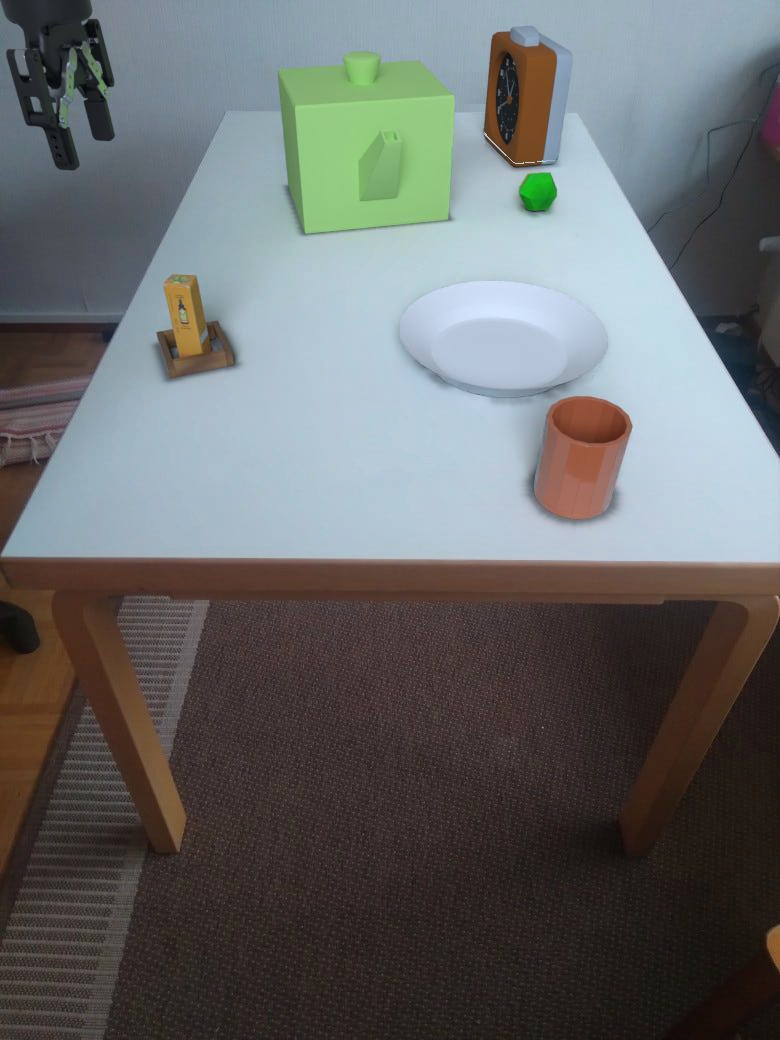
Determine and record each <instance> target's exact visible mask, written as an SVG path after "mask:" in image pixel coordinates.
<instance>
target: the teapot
mask: <svg viewBox="0 0 780 1040" xmlns="http://www.w3.org/2000/svg"><path fill="white" fill-rule="evenodd" d="M381 60H382V58H381V55H380V54H378V53H376V52H373V51H367V50H366V51H365V50H360V51H359V50H358V51H350V52H348V53H346V54H344V55H343V56H342V61H343V64H336V65H335V64H334V65H320V66H319V65H318V66H303V67H287V68H277V82H278V92H279V104H280V113H281V124H282V134H283V144H284V145H283V146H284V155H285V165H286V177H287V186H288V190H289V192H290V195H291V198H292V201H293V203H294V207H295V209H296V212H297V215H298V217H299V220H300V223H301V226H302V229H303V232H304V234H306V235H307V234H317V233H327V232H337V231H338V232H339V231H349V230H358V229H360V230H361V229H369V228H380V227H389V226H398V225H400V226H401V225H409V224H420V223H430V222H440V221H448V220H449V215H450V213H449V212H450V198H451V197H450V196H451V181H452V180H451V179H452V160H453V143H454V128H455V127H454V126H455V110H456V97H455V96H456V95H455V94H453V92H451V91H450V90H449V89H448V88H447V87H446V86H445V85H444V84H443V82H442V81H440V80H439V78H437V77H436V76H435V74H434V73H433V72H431V71H430V70H429V68H427V66H425V65H424V64H423V63H422V62H421V61H420V60H403V61H402V60H401V61H386V62H385V61H384V62H383V61H382V62H381Z"/></svg>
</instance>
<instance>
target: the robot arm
mask: <svg viewBox="0 0 780 1040" xmlns="http://www.w3.org/2000/svg"><path fill="white" fill-rule="evenodd" d="M0 5H1V7H2V12H3V14H4V17H5V18H6V19H7V21H9V22H10V23H12V24H14V25H17V26H18V27H20V28H21V30H22V32H23V37H24V48H8V49H6V53H5V56H6V61H7V64H8V67H9V71H10V74H11V78H12V82H13V85H14V88H15V92H16V95H17V99H18V102H19V107H20V110H21V114H22V116H23V120H24V123H25V124H26V126H28V127H37V128H41V129H42V130H43V132H44V134H45V137H46V140H47V144H48V147H49V151H50V154H51V157H52V160H53V161H52V162H53V163H54V166H55V168H57V169H58V170H61V171H76V170H77V169H78V168H79V167H80V165H81V164H80V161H79V155H78V152H77V150H76V146H75V145H76V144H75V142H74V138H73V135H72V131H71V128H70V126H68V125H69V124H68V123H69V121H68V120H69V105H71V104H72V103H73V101H74V95H75V94H74V93H75V91H74V90H75V89H76V90H77V91H78V92H79V93H80V95H81V97H82V98H84V99H85V100H83V106H84V109H85V113H86V117H87V120H88V124H89V130H90V133H91V136H92V138H93V139H94V140H95V141H98V142H111V141H113V140H114V139H115V138H116V133H115V129H114V125H113V121H112V117H111V113H110V109H109V104H108V99H109V97H110V91H109V88H114V87H115V77H114V73H113V70H112V65H111V61H110V57H109V54H108V50H107V46H106V42H105V39H104V34H103V30H102V26H101V23H100V20H99V19H98V18H91V16H92V14H93V6H92V5H93V4H92V2H91V0H0ZM97 62H98V63H99V64H100V66H99V65H98V63H97ZM32 98H35V109H34V105H33V101H32ZM54 104H55V108H54Z"/></svg>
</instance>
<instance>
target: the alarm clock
mask: <svg viewBox="0 0 780 1040" xmlns="http://www.w3.org/2000/svg"><path fill="white" fill-rule="evenodd" d="M490 40H491V41H490V50H489V63H488V75H487V87H486V100H485V108H484V109H485V110H484V120H483V121H484V122H483V133H484V132H485V133H486V134H487V136H488V137H489V138H490V139H491V140H492V141H493V142H494V143H495V144H496V145H497V146H498V147H499V148H500V149H501V150H502V151H503V152H504V153H505V154H506V155H507V156H508V157H509V158H510V159H511V160H512V161H513V162H515V163H523V162H524V164H515V163H513V162H512V161H511V160H510V159H509V158H508V157H507V156H505V155H504V154H503V153H502V152H501V151H500V150H499V149H498V148H497V147H496V146H495V145H494V144H493V143H492V142H491V141H490V140H489V139H488V138H487V137H486V136H485V135H484V134H483V136H484V139H485V140H486V142H488V144H490V146H492V147H493V148H494V149H495V150H496V151H497V152H498V153H499V154H500V155H501V156H502V157H503V158H504V160H506V161H507V162H508V163H509V164H510V165H511V166H512V167H514V168H521V167H530V166H532V167H533V166H542V165H553V164H555V163H557V162H558V158H559V154H560V147H561V141H562V134H563V128H564V121H565V115H566V110H567V109H566V108H567V101H568V95H569V89H570V82H571V76H572V69H573V63H574V55H573V53H572V51H571V50H570V49H568V48H566V47H565V46H563V45H562V44H560V43H557V42H556V41H554V40H553V39H551V38H550V37H548V36H546V35H544V34H543V33H542V32H539V30H538V29H537V27H535V26H533V25H522V26H512V27H511V28H510V30H507V31H496V32H495V33H493V34H492V36H491V39H490ZM556 159H557V160H556ZM542 160H543V161H546V160H555V161H546V162H537V161H542ZM525 162H535V163H525Z"/></svg>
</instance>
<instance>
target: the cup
mask: <svg viewBox="0 0 780 1040" xmlns="http://www.w3.org/2000/svg"><path fill="white" fill-rule="evenodd" d="M632 429H633V423H632V421H631V418H630V415H629V414H628V413H627V412H625V410H624V409H623V408H621V407H620V406H619V405H617V404H615V403H614V402H611V401H609V400H607V399H603V398H599V397H595V396H590V395H584V396H583V395H574V396H569V397H565V398H561V399H559V400H557V401H556V402H554V403H553V404H551V405H550V406H549V408H548V411H547V413H546V416H545V421H544V427H543V432H542V437H541V443H540V448H539V454H538V459H537V462H536V463H537V465H536V470H535V474H534V481H533V493H534V496H535V498H536V500H537V502H538V503H539V504H540V505H541V506H542V507H543V508H544V509H545V510H547V511H549V512H550V513H553V514H554V515H557V516H560V517H562V518H565V519H566V518H567V519H573V520H574V519H575V520H583V519H584V520H586V519H591V518H594V517H597V516H599V515H601V514H602V513H604V512H605V511H606V510H607V509H608V507H609V506H610V505H611V504H610V503H611V501H612V497H613V495H614V491H615V487H616V484H617V480H618V477H619V474H620V471H621V467H622V464H623V460H624V457H625V453H626V450H627V447H628V443H629V440H630V437H631V434H632Z"/></svg>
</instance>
